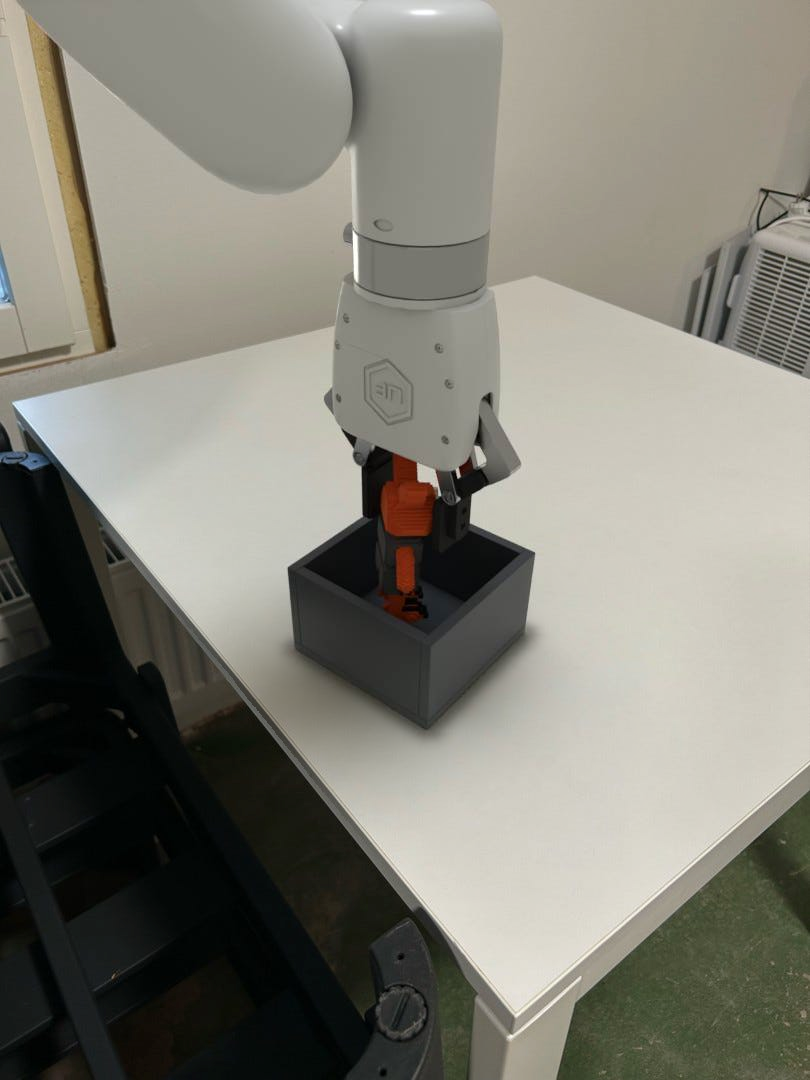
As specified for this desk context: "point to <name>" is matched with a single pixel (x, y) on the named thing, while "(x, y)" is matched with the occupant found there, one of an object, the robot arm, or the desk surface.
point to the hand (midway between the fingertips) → (414, 523)
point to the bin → (419, 647)
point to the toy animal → (403, 540)
